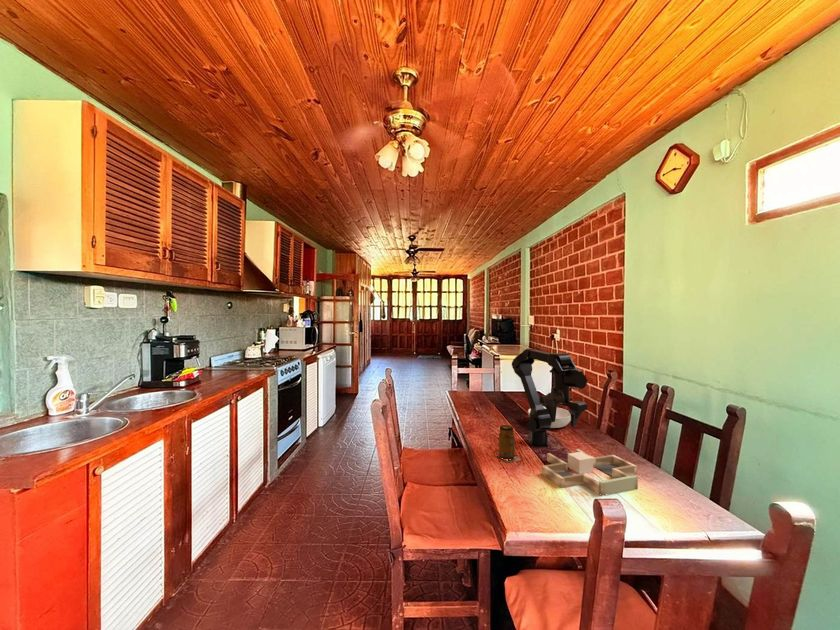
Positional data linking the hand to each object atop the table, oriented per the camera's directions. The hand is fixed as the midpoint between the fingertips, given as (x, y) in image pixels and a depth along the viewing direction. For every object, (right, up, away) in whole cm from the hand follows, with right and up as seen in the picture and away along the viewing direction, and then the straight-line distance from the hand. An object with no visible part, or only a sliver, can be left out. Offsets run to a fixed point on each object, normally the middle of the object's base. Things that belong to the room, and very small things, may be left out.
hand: (563, 424), depth 142 cm
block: (+2, -13, -11) cm, 17 cm away
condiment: (-22, -13, 0) cm, 26 cm away
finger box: (+3, -13, -15) cm, 20 cm away
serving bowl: (+9, -13, +39) cm, 42 cm away
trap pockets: (+3, -13, -15) cm, 20 cm away
